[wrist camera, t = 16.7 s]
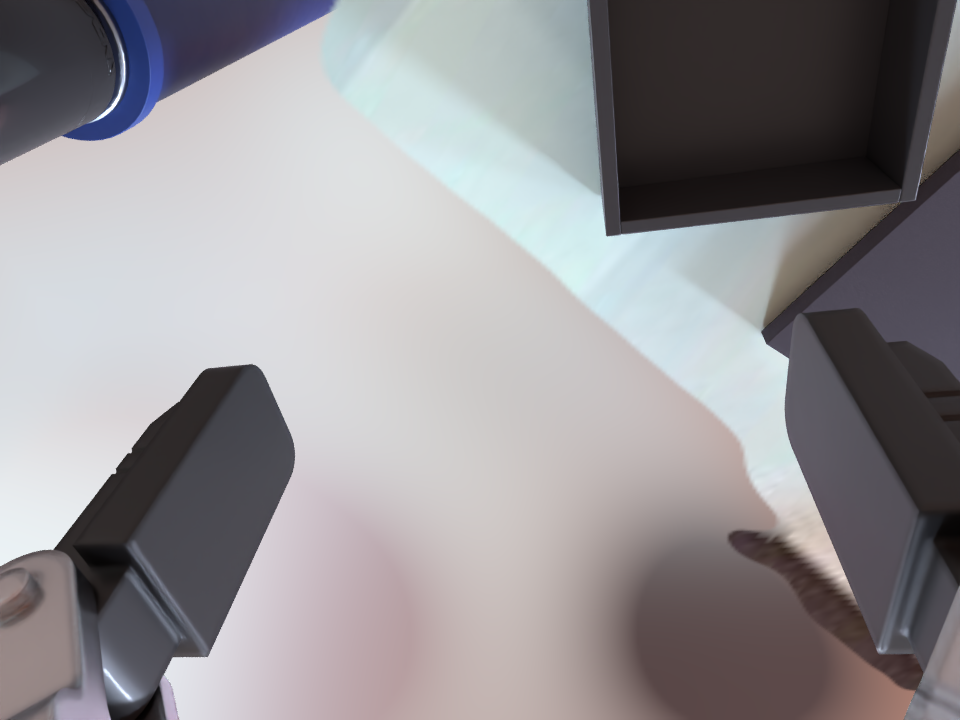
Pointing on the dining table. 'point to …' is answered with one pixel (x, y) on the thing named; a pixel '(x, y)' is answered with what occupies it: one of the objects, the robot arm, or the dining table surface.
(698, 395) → the dining table surface
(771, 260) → the dining table surface
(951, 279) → the notebook
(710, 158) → the bin
